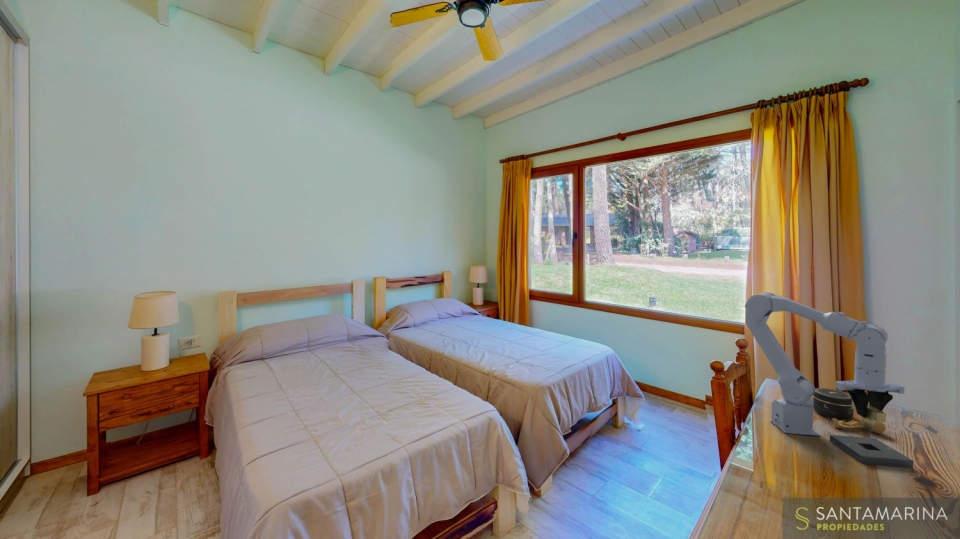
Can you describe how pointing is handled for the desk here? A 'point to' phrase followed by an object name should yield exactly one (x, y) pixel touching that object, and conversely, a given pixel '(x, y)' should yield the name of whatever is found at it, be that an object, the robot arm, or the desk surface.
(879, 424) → the figurine
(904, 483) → the desk surface
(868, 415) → the t key
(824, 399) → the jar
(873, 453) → the key plate
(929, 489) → the desk surface
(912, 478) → the desk surface
